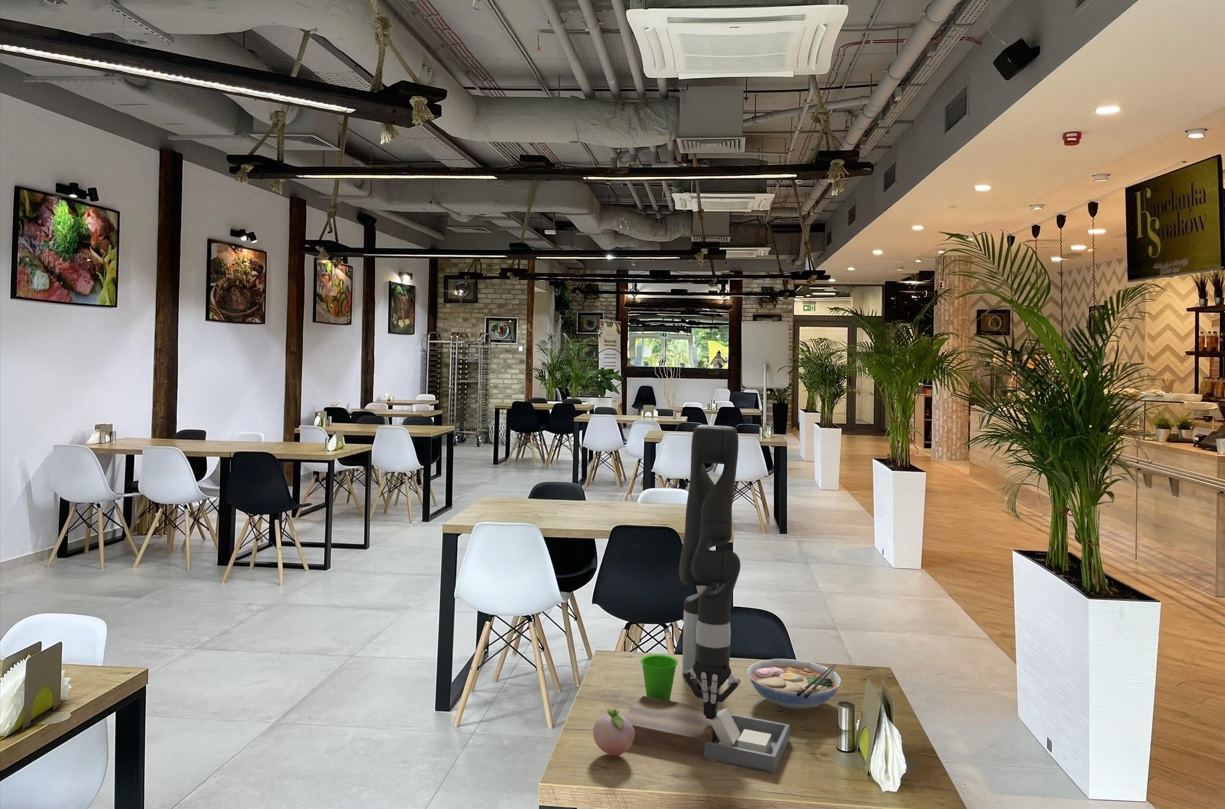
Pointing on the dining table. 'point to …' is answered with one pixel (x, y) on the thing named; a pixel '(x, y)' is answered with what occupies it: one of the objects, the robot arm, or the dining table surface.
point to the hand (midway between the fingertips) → (710, 717)
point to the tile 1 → (725, 727)
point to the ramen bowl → (794, 682)
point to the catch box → (749, 757)
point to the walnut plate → (671, 726)
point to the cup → (659, 675)
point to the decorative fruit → (613, 733)
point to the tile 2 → (755, 741)
